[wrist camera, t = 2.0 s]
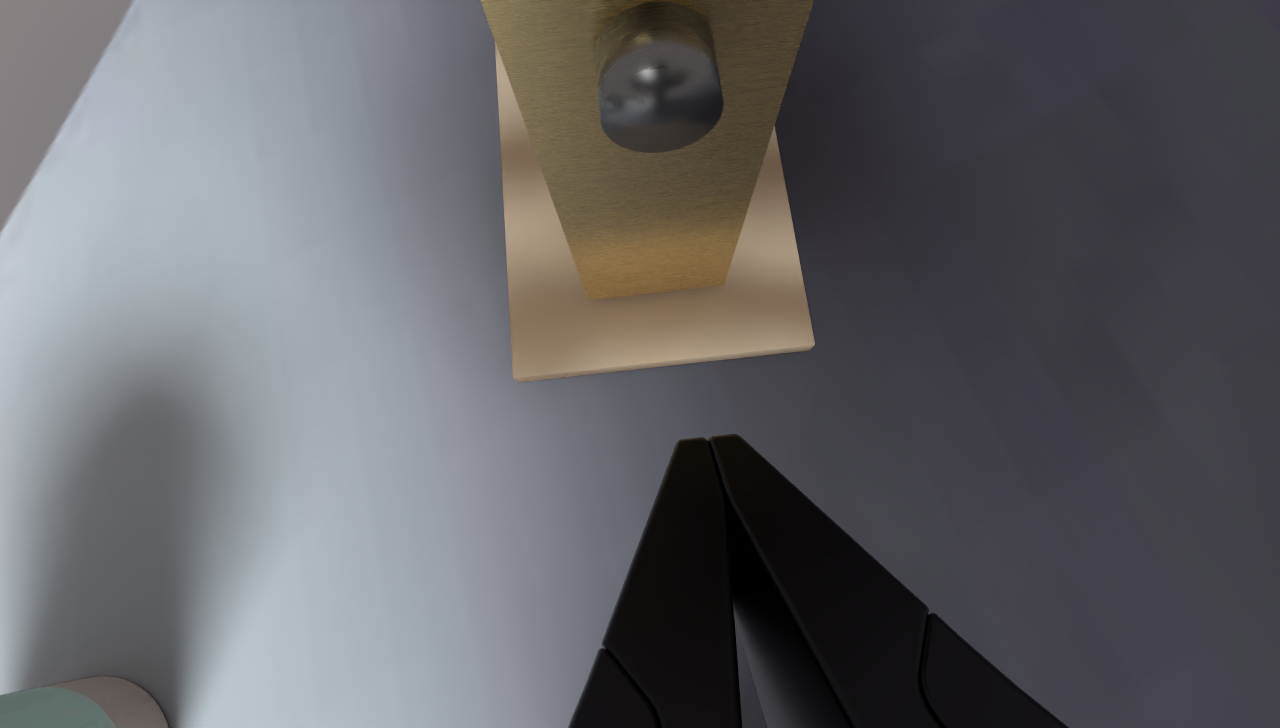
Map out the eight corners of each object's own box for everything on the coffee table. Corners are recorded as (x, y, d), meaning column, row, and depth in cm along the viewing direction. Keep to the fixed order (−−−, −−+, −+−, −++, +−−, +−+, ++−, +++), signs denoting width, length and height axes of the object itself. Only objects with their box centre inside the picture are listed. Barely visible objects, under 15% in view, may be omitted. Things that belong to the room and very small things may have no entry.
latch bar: (728, 316, 20) (879, -66, 6) (590, 331, 20) (448, -17, 6) (706, 164, 21) (789, -413, 8) (577, 178, 21) (436, -372, 8)
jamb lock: (809, 350, 21) (918, 245, 12) (518, 382, 21) (418, 300, 12) (743, -7, 25) (791, -284, 16) (498, 21, 25) (410, -238, 16)
